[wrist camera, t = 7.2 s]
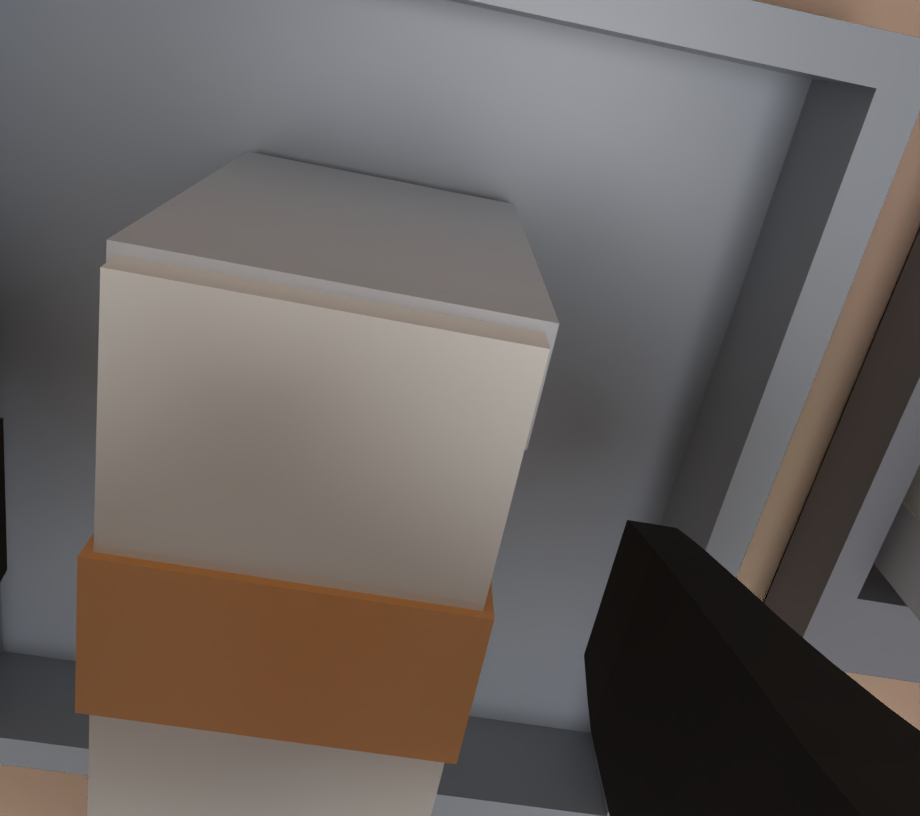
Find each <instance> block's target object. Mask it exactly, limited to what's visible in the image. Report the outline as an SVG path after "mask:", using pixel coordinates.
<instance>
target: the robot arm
mask: <svg viewBox="0 0 920 816" xmlns="http://www.w3.org/2000/svg"><path fill="white" fill-rule="evenodd" d="M6 571H7V539H6V502H5V465H4V428H3V418H0V582H1V580H2V578H3V577H4V575H5V573H6ZM584 661H585V674H586V687H587V699H588V709H589V719H590V728H591V735H592V739H593V744H594V749H595V754H596V758H597V762H598V767H599V771H600V776H601V780H602V785H603V789H604V794H605V798H606V802H607V807H608V811H609V815H610V816H920V731H919V730H918V729H916V728H915V727H914V726H912V725H911V724H910V723H908V722H907V721H906V720H904V719H903V718H902V717H900V716H899V715H898V714H896V713H895V712H894V711H892V710H891V709H890V708H888V707H887V706H886V705H884V704H883V703H882V702H880V701H879V700H878V699H877V698H875V697H874V696H873V695H872V694H871V693H869V692H868V691H867V690H866V689H864V688H863V687H862V686H861V685H859V684H858V683H857V682H856V681H854V680H853V679H852V678H851V677H849V676H848V675H847V674H846V673H844V672H843V671H842V670H841V669H839V668H838V667H837V666H836V665H834V664H833V663H832V662H831V661H830V660H828V659H827V658H826V657H825V656H824V655H823V654H821V653H820V652H819V651H818V650H817V649H816V648H814V647H813V646H812V645H811V644H810V643H808V642H807V641H806V640H805V639H804V638H803V637H801V636H800V635H799V634H798V633H797V632H796V631H795V630H793V629H792V628H791V627H790V626H789V625H788V624H787V623H786V622H784V621H783V620H782V619H781V618H780V617H779V616H778V615H777V614H775V613H774V612H773V611H772V610H771V609H770V608H769V607H768V606H766V605H765V604H764V603H763V602H762V601H761V600H760V599H759V598H758V597H756V596H755V595H754V594H753V593H752V592H751V591H750V590H749V589H748V588H747V587H745V586H744V585H743V584H742V583H741V582H740V581H739V580H738V579H737V578H736V577H734V576H733V575H732V574H731V573H730V572H729V571H728V570H727V569H726V568H724V567H723V566H722V565H721V564H720V563H719V562H718V561H717V560H716V559H714V558H713V557H712V556H711V555H710V554H709V553H708V552H706V551H705V550H704V549H703V548H702V547H701V546H699V545H698V544H697V543H696V542H695V541H693V540H692V539H691V538H690V537H688V536H687V535H686V534H684V533H683V532H682V531H680V530H679V529H678V528H675V527H669V526H662V525H656V524H650V523H644V522H638V521H632V520H627V522H626V525H625V528H624V531H623V534H622V538H621V541H620V544H619V547H618V550H617V553H616V556H615V559H614V563H613V566H612V569H611V572H610V575H609V578H608V581H607V584H606V588H605V591H604V594H603V597H602V600H601V603H600V606H599V609H598V613H597V616H596V619H595V622H594V625H593V628H592V631H591V634H590V638H589V641H588V644H587V647H586V650H585V653H584Z"/></svg>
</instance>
